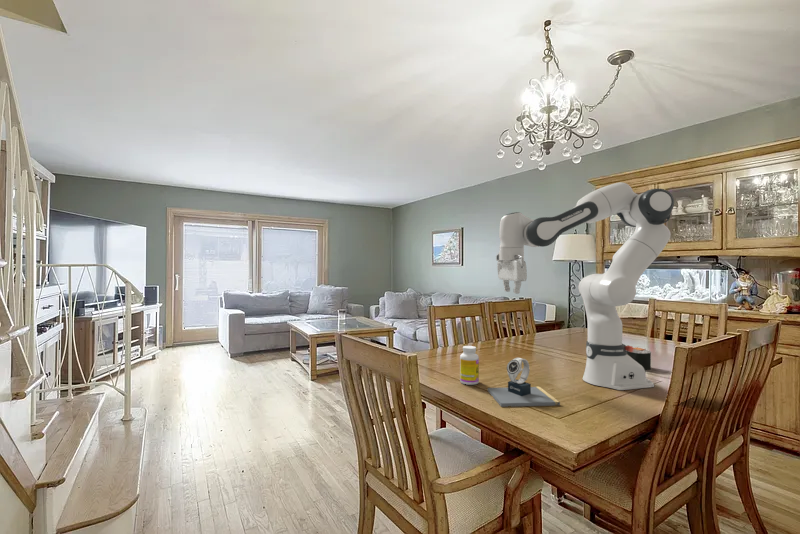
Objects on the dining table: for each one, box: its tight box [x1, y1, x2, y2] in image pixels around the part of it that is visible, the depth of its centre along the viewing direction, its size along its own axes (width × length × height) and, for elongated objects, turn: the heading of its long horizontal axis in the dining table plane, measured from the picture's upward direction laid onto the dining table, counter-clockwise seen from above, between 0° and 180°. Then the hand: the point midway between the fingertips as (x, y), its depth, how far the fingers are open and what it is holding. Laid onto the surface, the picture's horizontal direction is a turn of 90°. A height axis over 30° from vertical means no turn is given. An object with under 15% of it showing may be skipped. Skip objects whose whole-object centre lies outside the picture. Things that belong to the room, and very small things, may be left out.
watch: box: [506, 357, 532, 396], centre depth 121 cm, size 6×8×11 cm
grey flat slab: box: [487, 386, 561, 408], centre depth 119 cm, size 18×14×1 cm
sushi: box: [626, 346, 652, 371], centre depth 153 cm, size 8×8×8 cm
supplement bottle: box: [459, 345, 480, 386], centre depth 134 cm, size 7×7×13 cm
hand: (511, 292), depth 141 cm, fingers open, 8 cm apart
